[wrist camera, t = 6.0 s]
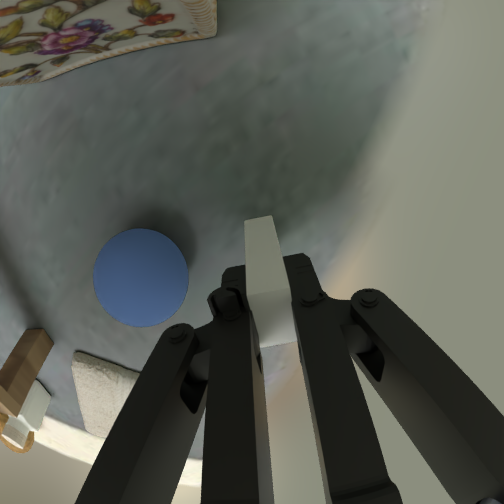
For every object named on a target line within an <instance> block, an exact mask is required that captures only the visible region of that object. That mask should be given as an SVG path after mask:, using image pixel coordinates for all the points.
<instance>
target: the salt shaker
mask: <svg viewBox="0 0 504 504" xmlns="http://www.w3.org/2000/svg"><path fill="white" fill-rule="evenodd" d="M50 401H51V396H50V395H49V393H48V392H47V391H46V390H45V389H44V387H43V386H42V385H41V384H40V382H39V381H37V380H34V382H33V384H32V387H31V389H30V391H29V393H28V395H27V397H26V399H25V401H24V403H23V406H22V408H21V410H20V412H19V415H18V417H17V418H16V417H13V416H10V415H8V416H9V419H8V421H7V423H6V424H5V427H4V430H3V432H2V436H3V437H4V438H5V439H6V440H7V441H9V442H10V443H12V444H13V445H15V446H16V447H18V448H21V449H23V448H24V445H25V442H26V439H27V436H28V433H29V431H34V432H36V431H38V430H39V428H40V425H41V423H42V420H43V417H44V415H45V413H46V410H47V408H48V405H49V403H50Z"/></svg>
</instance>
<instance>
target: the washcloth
mask: <svg viewBox="0 0 504 504" xmlns="http://www.w3.org/2000/svg"><path fill="white" fill-rule="evenodd" d="M71 368H72V371H73V378H74V383H75V385H76V386H75V388H76V390H77V396H78V402H79V405H80V410H81V412H82V416H83V420H84V424H85V429H86V430H87V431H88V432H90V433H91V434H94V435H96V436H99V437H104V438H107V436H108V434H109V432H110V430H111V428H112V426H113V424H114V422H115V420H116V418H117V416H118V414H119V412H120V410H121V409H122V407H123V405H124V403H125V401H126V399H127V397H128V395H129V393H130V392H131V390H132V388H133V386H134V384H135V382H136V380H137V379H138V377H139V375H140V373H137V372H133V371H131V370H127V369H124V368H122V367H121V366H118V365H115V364H113V363H109V362H107V361H103V360H101V359H98V358H95V357H92V356H90V355H87V354H84V353H80V352H78V353H75V352H74V353H73V359H72V366H71Z"/></svg>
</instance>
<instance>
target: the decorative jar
mask: <svg viewBox="0 0 504 504" xmlns="http://www.w3.org/2000/svg"><path fill="white" fill-rule="evenodd" d="M216 11H217V0H0V87H2V86H11V85H21V84H32V83H37V82H42V81H44V80H47V79H50V78H52V77H55V76H57V75H60V74H62V73H65V72H67V71H69V70H72V69H75V68H77V67H80V66H83V65H87V64H90V63H93V62H96V61H98V60H102V59H106V58H110V57H114V56H117V55H121V54H124V53H128V52H132V51H136V50H141V49H145V48H149V47H154V46H158V45H163V44H169V43H175V42H181V41H188V40H196V39H204V38H209V37H213V36H215V35H216V33H217V13H216Z"/></svg>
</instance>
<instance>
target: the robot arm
mask: <svg viewBox="0 0 504 504" xmlns="http://www.w3.org/2000/svg"><path fill="white" fill-rule="evenodd" d="M244 229H245V262H246V265H241V266H235V267H230V268H227V269H226V270H225V272H224V273H223V275H222V283H221V287H220V288H218V289H216V290H214V291H213V292H212V293H211V294H210V295H209V296H208V299H207V301H208V304H209V307H210V309H211V312H212V315H213V321H211V322H210V323H208V324H206V325H204V326H202V327H199V328H197V329H194V328H193V327H192V326H191V325H189V324H185V323H181V324H176V325H173V326H171V327H169V328H168V329H166V330H165V331H164V333H163V334H162V335H161V337H160V339H159V340H158V342H157V344H156V346H155V348H154V349H153V351H152V353H151V355H150V357H149V358H148V360H147V362H146V364H145V366H144V368H143V369H142V371H141V373H140V375H139V377H138V379H137V380H136V382H135V384H134V386H133V388H132V390H131V392H130V393H129V395H128V397H127V399H126V401H125V403H124V405H123V407H122V409H121V410H120V412H119V414H118V416H117V418H116V420H115V422H114V424H113V426H112V428H111V430H110V432H109V434H108V436H107V438H106V440H105V442H104V444H103V446H102V448H101V450H100V452H99V454H98V456H97V458H96V460H95V462H94V464H93V466H92V468H91V470H90V472H89V474H88V476H87V479H86V481H85V483H84V485H83V487H82V489H81V491H80V493H79V495H78V498H77V500H76V502H75V504H171V502H172V499H173V496H174V494H175V491H176V488H177V485H178V483H179V480H180V477H181V474H182V471H183V469H184V466H185V463H186V460H187V458H188V455H189V452H190V449H191V446H192V444H193V441H194V438H195V435H196V432H197V429H198V427H199V424H200V421H201V418H202V415H203V413H204V410H205V407H206V413H205V428H204V445H203V463H202V485H201V503H200V504H274V494H273V482H272V470H271V458H270V446H269V435H268V423H267V411H266V398H265V386H264V374H263V362H262V356H261V352H260V347H261V348H262V347H268V346H274V345H279V344H285V343H290V342H296V341H297V342H298V349H299V356H300V363H301V365H302V370H303V374H304V380H305V385H306V390H307V396H308V400H309V406H310V412H311V417H312V423H313V428H314V433H315V439H316V445H317V450H318V456H319V462H320V468H321V474H322V480H323V486H324V493H325V499H326V504H403V503H402V499H401V496H400V493H399V490H398V488H397V486H396V485H395V484H394V483H393V482H392V481H391V480H390V478H389V476H388V473H387V469H386V465H385V462H384V458H383V455H382V451H381V448H380V444H379V441H378V438H377V434H376V431H375V428H374V425H373V421H372V418H371V415H370V412H369V409H368V406H367V403H366V400H365V396H364V393H363V390H362V387H361V384H360V382H359V379H358V376H357V373H356V370H355V367H354V364H353V361H352V358H353V360H354V361H355V362H356V364H357V365H358V366H359V368H360V369H361V371H362V372H363V373H364V374H365V376H366V378H367V379H368V380H369V382H370V383H371V384H372V386H373V387H374V389H375V390H376V391H377V393H378V394H379V395H380V397H381V398H382V400H383V401H384V403H385V404H386V405H387V407H388V408H389V409H390V411H391V412H392V414H393V415H394V417H395V418H396V419H397V421H398V422H399V424H400V425H401V426H402V428H403V429H404V431H405V432H406V433H407V435H408V436H409V438H410V439H411V440H412V442H413V443H414V445H415V446H416V448H417V449H418V451H419V452H420V453H421V455H422V456H423V458H424V459H425V461H426V462H427V464H428V465H429V466H430V468H431V469H432V471H433V472H434V473H435V475H436V477H437V478H438V480H439V481H440V482H441V484H442V485H443V487H444V488H445V490H446V491H447V492H448V494H449V495H450V496H451V498H452V499H453V500H454V502H455V503H456V504H504V416H503V415H502V414H501V413H500V412H499V411H498V409H497V408H496V407H495V406H494V405H493V404H492V402H491V401H490V400H489V399H488V398H487V397H486V396H485V395H484V393H483V392H482V391H481V390H480V389H479V388H478V387H477V386H476V385H475V384H474V383H473V381H472V380H471V379H470V378H469V377H468V376H467V375H466V374H465V373H464V372H463V371H462V370H461V369H460V368H459V367H458V366H457V365H456V363H455V362H453V360H452V359H451V358H450V357H449V356H447V354H446V353H445V352H444V351H443V350H442V349H441V348H440V347H439V346H438V345H437V344H436V343H435V342H434V341H433V340H432V339H431V338H430V337H429V336H428V335H427V334H426V333H425V332H424V331H423V330H422V329H421V328H420V327H418V325H417V324H416V323H415V322H414V321H413V320H411V319H410V318H409V317H408V316H407V315H406V314H405V313H404V312H403V311H402V310H401V309H400V308H399V307H398V306H397V305H396V304H395V303H394V302H393V301H391V300H390V299H389V298H388V297H387V296H386V295H385V294H384V293H382V292H380V291H379V290H375V289H362V290H359V291H357V292H356V293H354V294H353V296H352V297H351V300H338V299H333V298H331V297H329V296H328V295H327V294H326V293H325V292H324V291H323V290H322V288H321V286H320V283H319V280H318V278H317V275H316V273H315V271H314V268H313V266H312V263H311V260H310V258H309V257H308V256H306V255H305V254H304V253H300V254H294V255H289V256H284V257H282V253H281V249H280V245H279V241H278V238H277V234H276V230H275V226H274V222H273V218H272V215H270V216H264V217H259V218H254V219H249V220H244ZM259 343H260V345H259ZM350 355H351V356H350ZM351 357H352V358H351Z"/></svg>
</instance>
